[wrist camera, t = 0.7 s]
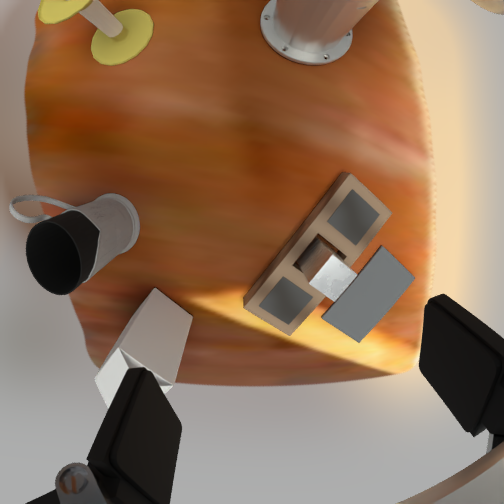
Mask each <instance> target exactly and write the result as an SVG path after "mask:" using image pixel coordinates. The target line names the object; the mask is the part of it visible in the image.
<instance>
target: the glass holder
mask: <svg viewBox="0 0 504 504" xmlns="http://www.w3.org/2000/svg"><path fill="white" fill-rule="evenodd" d="M29 200H33V201H42V202H47V203H50V204H53V205H56V206H59V207H62V208H65V209H67V210H66V211H65V212H63V213H61V214H60V215H57V216H55V217H51V216H49V215H44V214H43V215H39V216H35V217H29V216H25V215H22V214H20V213H18V212H17V211H16V210H15V209H14V207H13V204H15V203H16V202H21V201H29ZM9 208H10V212H11V214H12V215H13V216H14V217H15V218H16V219H18V220H20V221H22V222H26V223H35V222H39V221H42V220H44V221H42V222H40V223H38V224H37V225H35V226H34V227H33V228H32V229H31V231H30V233H29V235H28V238H27V242H26V256H27V262H28V265H29V268H30V270H31V272H32V274H33V276H34V278H35V279H36V280H37V282H38V283H39V284H40V285H41V286H42V287H43V288H45V289H46V290H47V291H49V292H51V293H54V294H56V295H66V294H69V293H71V292H72V291H74V290H75V289H76V288H77V287H78V286H79V285H80V284H82V283H85V282H86V281H88V280H89V279H90V278H91V277H92V276H93V275H94V274H96V273H97V272H98V271H99V270H100V269H101V268H103V267H104V266H105V265H106V264H107V263H108V262H110V261H111V260H112V259H113V258H114V257H116V256H117V255H118V254H121V253H124V252H126V251H128V250H129V249H130V248H131V247H133V245H134V244H135V243H136V241H137V238H138V235H139V231H140V221H139V216H138V214H137V211H136V209H135V207H134V206H133V205H132V203H131V202H130V201H129V200H128V199H126V198H125V197H123V196H121V195H119V194H114V193H108V194H104V195H102V196H100V197H98V198H97V199H95V201H93V202H90V203H87V204H84V205H81V206H78V207H75V206H72V205H69V204H67V203H64V202H61V201H58V200H56V199H53V198H50V197H46V196H40V195H23V196H18V197H15V198H13V199H12V201H11V202H10V207H9Z"/></svg>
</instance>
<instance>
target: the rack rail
mask: <svg viewBox="0 0 504 504" xmlns="http://www.w3.org/2000/svg"><path fill="white" fill-rule="evenodd" d="M391 214H392V212H391V211H390V210H389V209H388V208H387V207H386V206H385V205H384V204H383V203H382V202H381V201H380V200H379V199H378V198H377V197H376V196H375V195H374V194H373V193H372V192H370V191H369V190H368V189H367V188H366V187H365V186H364V185H363V184H362V183H361V182H360V181H359V180H358V179H357V178H355V177H354V176H353V175H352V174H351V173H346V172H342V173H341V175H340V176H339V177H338V178H337V180H336V181H335V182H334V184H333V185H332V186H331V188H330V189H329V190H328V192H327V193H326V194H325V195H324V197H323V198H322V199H321V201H320V202H319V203H318V204H317V206H316V207H315V208H314V210H313V211H312V212H311V214H310V215H309V216H308V217H307V219H306V220H305V221H304V222H303V224H302V225H301V226H300V228H299V229H298V230H297V231H296V233H295V234H294V235H293V237H292V238H291V239H290V240H289V242H288V243H287V244H286V245H285V247H284V248H283V249H282V250H281V252H280V253H279V254H278V255H277V257H276V258H275V259H274V260H273V262H272V263H271V264H270V265H269V267H268V268H267V269H266V270H265V272H264V273H263V274H262V275H261V277H260V278H259V279H258V280H257V282H256V283H255V284H254V285H253V287H252V288H251V289H250V290H249V292H248V293H247V294H246V295H245V297H244V298H243V303H244V309H246V310H248V311H249V312H251V313H252V314H254V315H256V316H257V317H259V318H261V319H262V320H264V321H265V322H267V323H269V324H270V325H272V326H274V327H275V328H277V329H279V330H280V331H282V332H284V333H285V334H287V335H289V336H290V335H291V334H292V333H293V332H294V331H295V330H296V329H297V328H298V327H299V326H300V324H301V323H302V322H303V321H304V320H305V319H306V318H307V317H308V316H309V315H310V313H311V312H312V311H313V310H314V309H315V308H316V307H317V306H318V304H319V303H320V302H321V301H322V300H323V299H324V298H325V296H326V295H324V294H323V293H321V292H320V291H319V290H317V289H316V288H314V287H313V286H312V285H310V284H309V283H308V281H307V279H306V277H305V276H304V274H303V272H302V270H301V268H300V266H299V265H298V264H296V263H295V261H296V260H297V259H298V257H299V256H300V255H301V254H302V252H303V251H304V250H305V249H306V247H307V246H308V245H309V244H310V242H311V241H312V240H313V239H314V237H315V236H316V235H317V234H318V233H319V234H320V235H321V236H322V237H324V238H325V239H326V240H327V241H329V242H330V243H331V244H332V245H334V246H335V247H336V248H337V249H339V251H338V252H337V254H338V255H339V256H340V257H341V258H342V259H343V260H344V261H345V262H346V263H347V264H348V265H349V266H350V267H351V266H352V264H353V263H354V262H355V261H356V259H357V258H358V257H359V256H360V254H361V253H362V252H363V251H364V249H365V248H366V247H367V246H368V244H369V243H370V242H371V240H372V239H373V238H374V237H375V235H376V234H377V233H378V231H379V230H380V229H381V227H382V226H383V225H384V223H385V222H386V221H387V219H388V218H389V217H390V215H391Z"/></svg>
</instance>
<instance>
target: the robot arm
mask: <svg viewBox="0 0 504 504" xmlns="http://www.w3.org/2000/svg"><path fill="white" fill-rule="evenodd" d="M378 1H379V0H271V1H269V2H268V4H267V5H266V6H265V7H264V9H263V11H262V14H261V20H260V26H261V32H262V34H263V36H264V39H265V40H266V41H267V43H268V44H269V45H270V46H271V47H272V48H273V49H274V50H275V51H276V52H277V53H279V54H280V55H282V56H283V57H285V58H287V59H289V60H291V61H294V62H297V63H301V64H306V65H323V64H328V63H331V62H334V61H336V60H337V59H339V58H340V57H342V56H343V55H344V54H345V53H346V52H347V50H348V49H349V47H350V45H351V43H352V38H353V33H352V28H353V27H354V26H355V25H356V24H357V23H358V21H359V20H360V19H361V18H362V17H363V16H364V15H365V14H366V13H367V12H368V11H369V10H370V9H371V8H372V7H373V6H374V5H375V4H376V3H377V2H378ZM471 1H473V2H474V3H475V4H477V5H479V6H480V7H482V8H484V9H486V10H487V11H490V12H493V13H496V14H501V15H504V0H471ZM265 19H268V20H265ZM283 50H285V51H283ZM324 57H325V58H326V59H324ZM419 369H420V371H421V373H422V374H423V376H424V377H425V378H426V379H427V381H428V382H429V383H430V384H431V386H432V387H433V388H434V390H435V391H436V392H437V394H438V395H439V396H440V398H441V399H442V400H443V402H444V403H445V404H446V406H447V407H448V408H449V409H450V411H451V412H452V414H453V415H454V416H455V418H456V419H457V421H458V422H459V423H460V425H461V426H462V428H463V429H464V430H465V431H466V432H470V433H471V434H472V436H473V437H475V436H476V435H478V434H479V433H481V432H482V431H484V430H485V429H487V430H488V431H489V439H488V445H487V452H486V455H484V456H483V457H481V458H480V459H478V460H477V461H475V462H474V463H473V464H471V465H469V466H468V467H466V468H465V469H463V470H461V471H460V472H458V473H456V474H455V475H453V476H451V477H450V478H448V479H446V480H444V481H442V482H441V483H439V484H437V485H435V486H433V487H431V488H429V489H427V490H425V491H423V492H421V493H419V494H417V495H415V496H413V497H410V498H408V499H406V500H404V501H401V502H399V503H397V504H504V339H503V338H502V337H501V336H500V335H498V334H497V333H496V332H495V331H493V330H492V329H491V328H489V327H488V326H487V325H486V324H485V323H483V322H482V321H481V320H479V319H478V318H477V317H475V316H474V315H472V314H471V313H470V312H469V311H467V310H466V309H465V308H463V307H462V306H461V305H459V304H458V303H457V302H455V301H454V300H452V299H451V298H450V297H448V296H447V295H445V294H440V295H438V296H435V297H433V298H430V299H429V300H428V303H427V304H426V305H425V308H424V322H423V333H422V343H421V351H420V359H419ZM181 432H182V425H181V422H180V420H179V418H178V417H177V415H176V414H175V412H174V410H173V408H172V407H171V405H170V403H169V402H168V400H167V398H166V397H165V395H164V393H163V391H162V389H161V387H160V386H159V384H158V382H157V380H156V378H155V376H154V374H153V373H152V372H151V371H148V370H147V369H146V368H145V367H137V368H129V369H128V370H127V371H126V373H125V375H124V377H123V379H122V382H121V384H120V386H119V388H118V390H117V392H116V394H115V396H114V398H113V400H112V403H111V405H110V407H109V409H108V411H107V413H106V416H105V418H104V420H103V422H102V424H101V427H100V429H99V431H98V434H97V436H96V438H95V440H94V443H93V445H92V447H91V450H90V452H89V454H88V457H87V460H88V461H89V462H88V465H87V466H86V465H85V464H82V463H71V464H68V465H66V466H65V467H63V468H62V469H61V470H60V471H59V473H58V474H57V476H56V480H55V486H56V489H55V490H53V491H51V492H49V493H47V494H45V495H43V496H41V497H39V498H36V499H34V500H32V501H30V502H27V503H26V504H170V498H171V492H172V486H173V479H174V473H175V467H176V461H177V454H178V449H179V444H180V437H181Z"/></svg>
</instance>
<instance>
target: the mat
mask: <svg viewBox="0 0 504 504" xmlns="http://www.w3.org/2000/svg"><path fill="white" fill-rule="evenodd" d="M414 279H415V277H414V276H413V275H412V274H411V273H410V272H409V271H408V270H407V269H406V268H405V267H404V266H403V265H402V264H401V263H400V262H399V261H398V260H396V259H395V258H394V257H393V256H392V255H391V254H390V253H389V252H388V251H387V250H386V249H385V248H384V247H383V246H382V245H381V246H380V247H379V249H378V250H377V251H376V252H375V254H374V255H373V256H372V258H371V259H370V260H369V261H368V263H367V264H366V265H365V266H364V267H363V269H362V270H361V271H360V272H359V274H358V275H357V276H356V277H355V278H354V280H353V281H352V282H351V283H350V284H349V286H348V287H347V288H346V289H345V290H344V292H343V293H342V294H341V295H340V296H339V297H338V298H337V300H336V301H335V302H334V303H333V304H332V305H331V306H330V307H329V309H328V310H327V311H326V312H325V313H324V314H323V315H322V316H321V318H322V319H323V320H325V321H326V322H328V323H329V324H331V325H333V326H334V327H336V328H337V329H339V330H340V331H342V332H343V333H345V334H346V335H348V336H349V337H351V338H352V339H354V340H356V341H357V342H360V341H361V340H362V339H363V338H364V337H365V336H366V335H367V334H368V333H369V332H370V331H371V330H372V328H373V327H374V326H375V325H376V324H377V323H378V322H379V321H380V320H381V319H382V317H383V316H384V315H385V314H386V313H387V312H388V311H389V309H390V308H391V307H392V306H393V305H394V304H395V302H396V301H397V300H398V299H399V298H400V296H401V295H402V294H403V293H404V291H405V290H406V289H407V288H408V287H409V285H410V284H411V283H412V281H413V280H414Z"/></svg>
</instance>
